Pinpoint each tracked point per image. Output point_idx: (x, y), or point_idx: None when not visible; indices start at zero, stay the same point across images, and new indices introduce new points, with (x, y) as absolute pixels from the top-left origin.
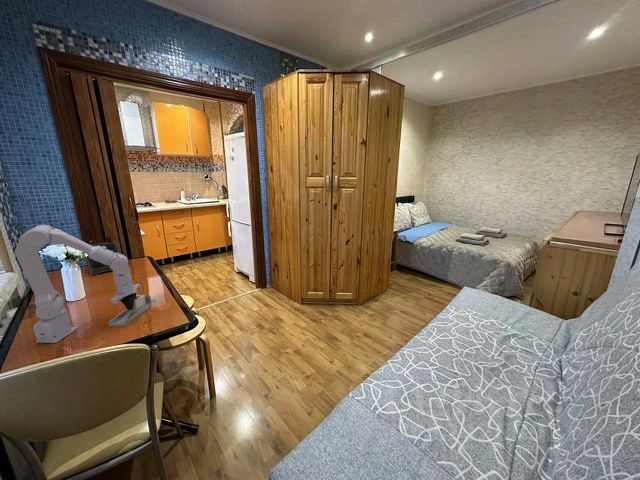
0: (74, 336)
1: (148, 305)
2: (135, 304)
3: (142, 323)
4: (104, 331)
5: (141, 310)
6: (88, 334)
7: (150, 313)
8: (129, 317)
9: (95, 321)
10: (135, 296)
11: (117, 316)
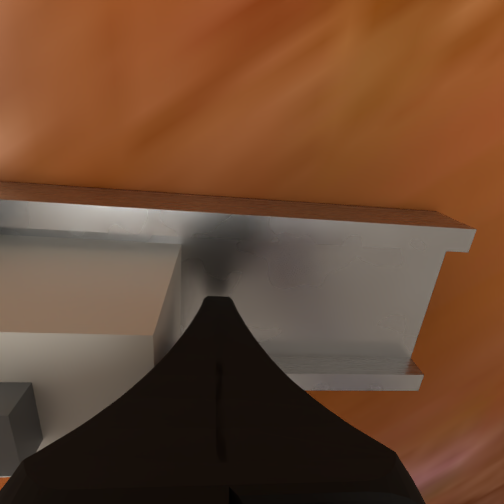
0: (467, 472)
1: (5, 190)
2: (165, 306)
3: (421, 26)
4: (466, 339)
5: (162, 202)
6: (471, 415)
7: (173, 62)
8: (380, 228)
9: None
10: (89, 434)
11: (327, 373)
